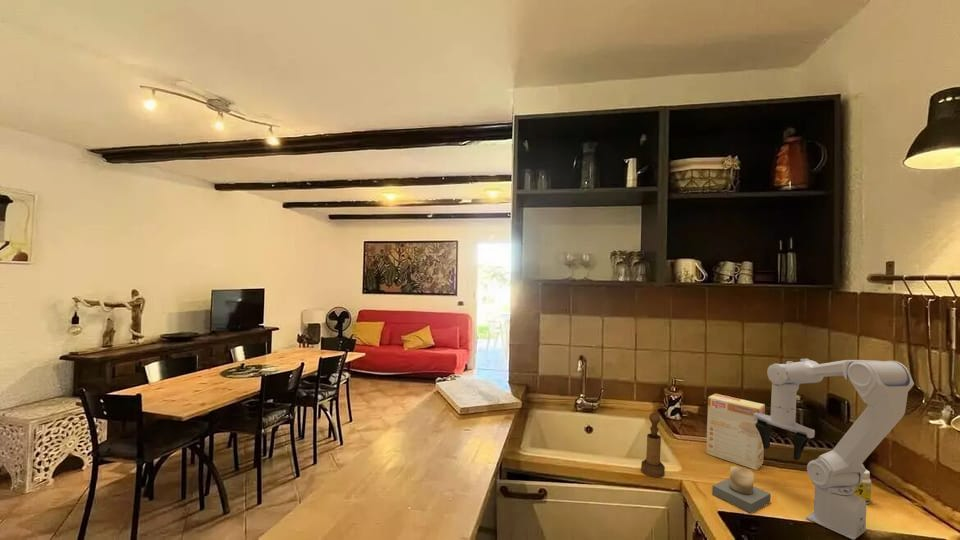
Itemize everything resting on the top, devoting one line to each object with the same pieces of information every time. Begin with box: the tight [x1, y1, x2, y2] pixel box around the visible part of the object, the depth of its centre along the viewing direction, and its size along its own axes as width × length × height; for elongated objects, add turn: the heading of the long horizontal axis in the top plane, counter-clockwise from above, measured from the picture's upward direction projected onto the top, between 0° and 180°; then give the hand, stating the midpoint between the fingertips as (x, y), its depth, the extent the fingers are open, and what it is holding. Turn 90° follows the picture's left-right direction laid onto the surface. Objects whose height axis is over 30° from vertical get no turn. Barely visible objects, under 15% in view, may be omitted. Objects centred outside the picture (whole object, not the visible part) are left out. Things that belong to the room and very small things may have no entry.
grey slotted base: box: [711, 477, 772, 514], centre depth 114 cm, size 10×10×2 cm
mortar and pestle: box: [640, 412, 666, 478], centre depth 127 cm, size 7×6×18 cm
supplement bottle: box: [853, 469, 872, 505], centre depth 115 cm, size 5×5×8 cm
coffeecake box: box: [705, 393, 766, 471], centre depth 137 cm, size 15×7×20 cm, turn 42°
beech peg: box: [729, 466, 755, 495], centre depth 114 cm, size 5×5×8 cm
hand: (781, 453), depth 119 cm, fingers open, 7 cm apart
